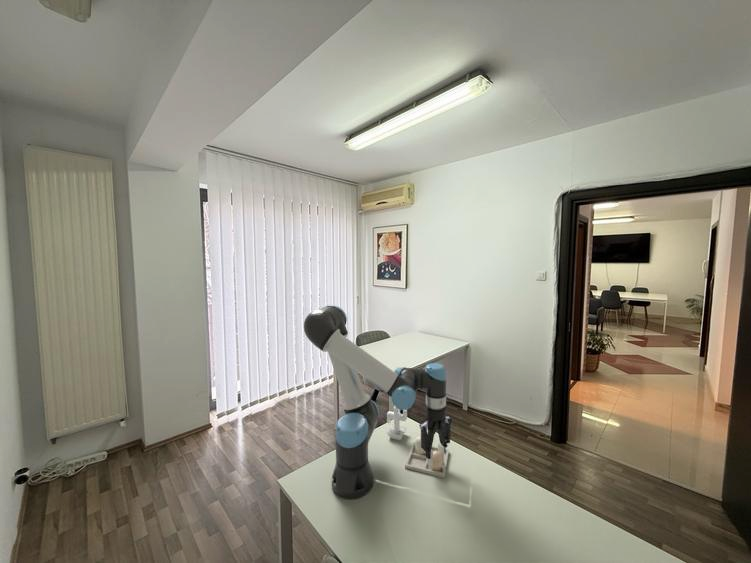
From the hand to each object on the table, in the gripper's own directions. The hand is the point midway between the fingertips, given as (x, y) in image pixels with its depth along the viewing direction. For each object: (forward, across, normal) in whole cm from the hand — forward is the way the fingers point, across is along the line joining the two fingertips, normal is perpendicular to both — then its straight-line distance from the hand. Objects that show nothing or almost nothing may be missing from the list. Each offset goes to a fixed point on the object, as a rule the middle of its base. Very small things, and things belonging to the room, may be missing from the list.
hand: (435, 463), depth 113 cm
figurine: (+3, -4, +24) cm, 25 cm away
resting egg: (+2, 0, +10) cm, 10 cm away
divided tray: (+3, 0, +5) cm, 6 cm away
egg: (+2, 0, 0) cm, 2 cm away
